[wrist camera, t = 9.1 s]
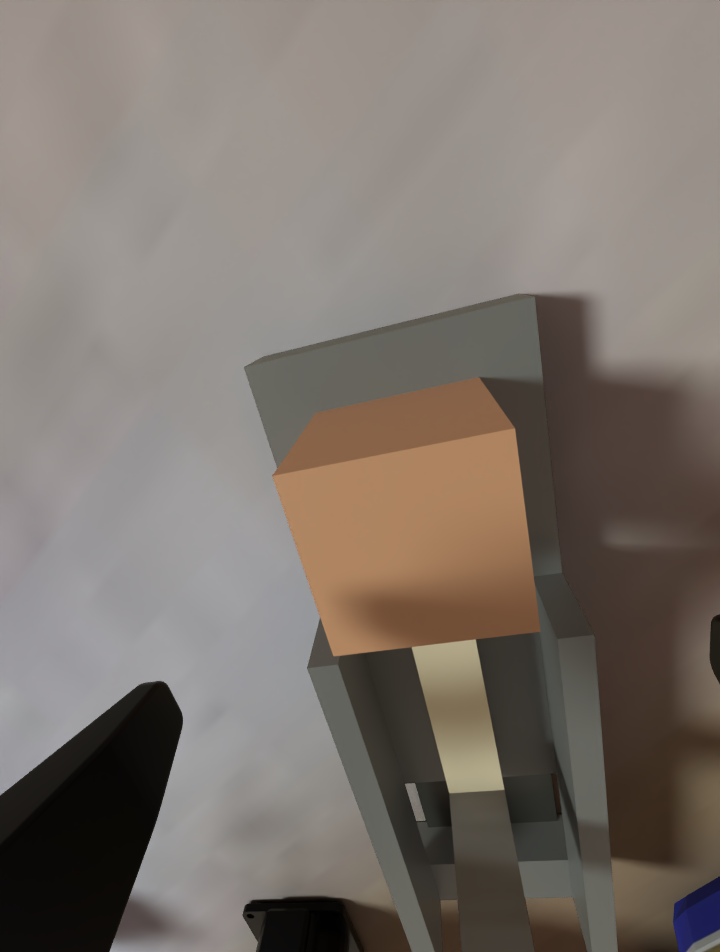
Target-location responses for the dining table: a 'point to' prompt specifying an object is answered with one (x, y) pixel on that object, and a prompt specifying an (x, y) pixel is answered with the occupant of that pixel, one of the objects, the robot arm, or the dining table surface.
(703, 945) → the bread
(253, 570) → the dining table surface
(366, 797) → the channel
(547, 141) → the dining table surface
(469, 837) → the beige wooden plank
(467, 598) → the terracotta block
